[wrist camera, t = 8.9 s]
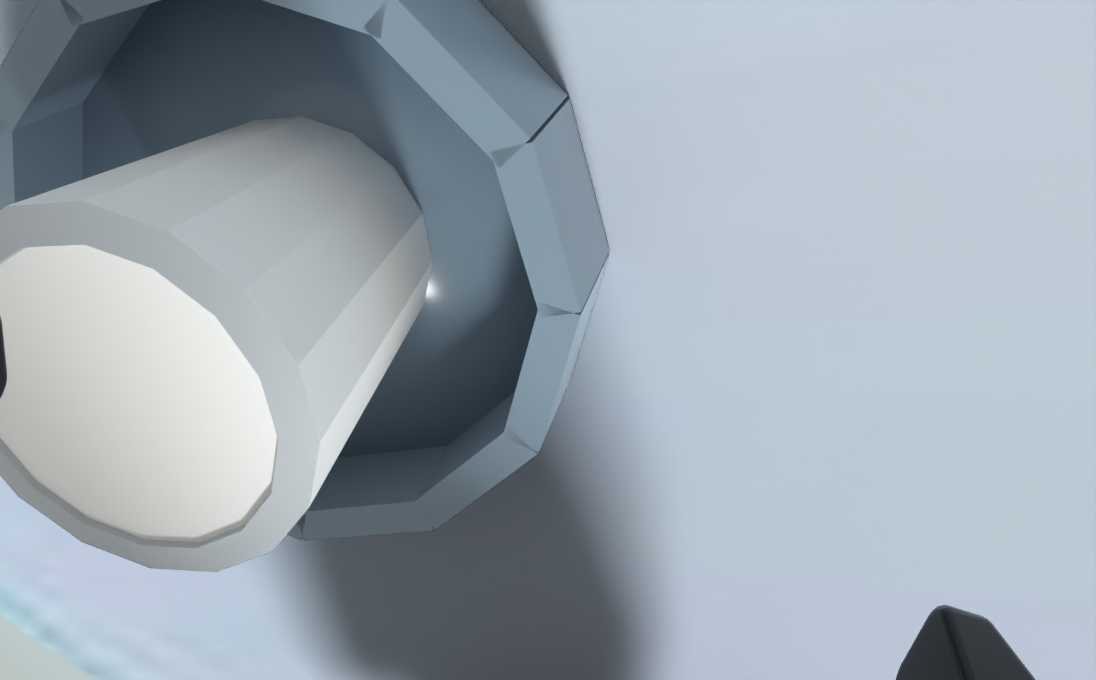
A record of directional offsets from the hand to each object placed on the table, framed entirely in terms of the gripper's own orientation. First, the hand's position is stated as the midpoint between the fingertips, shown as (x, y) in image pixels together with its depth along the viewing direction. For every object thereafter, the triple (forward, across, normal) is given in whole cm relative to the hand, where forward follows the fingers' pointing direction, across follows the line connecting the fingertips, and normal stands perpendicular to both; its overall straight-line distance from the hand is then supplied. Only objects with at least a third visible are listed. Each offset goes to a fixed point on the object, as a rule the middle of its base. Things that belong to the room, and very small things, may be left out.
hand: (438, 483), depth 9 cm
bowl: (+12, +6, +4) cm, 14 cm away
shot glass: (+12, +6, +4) cm, 14 cm away
